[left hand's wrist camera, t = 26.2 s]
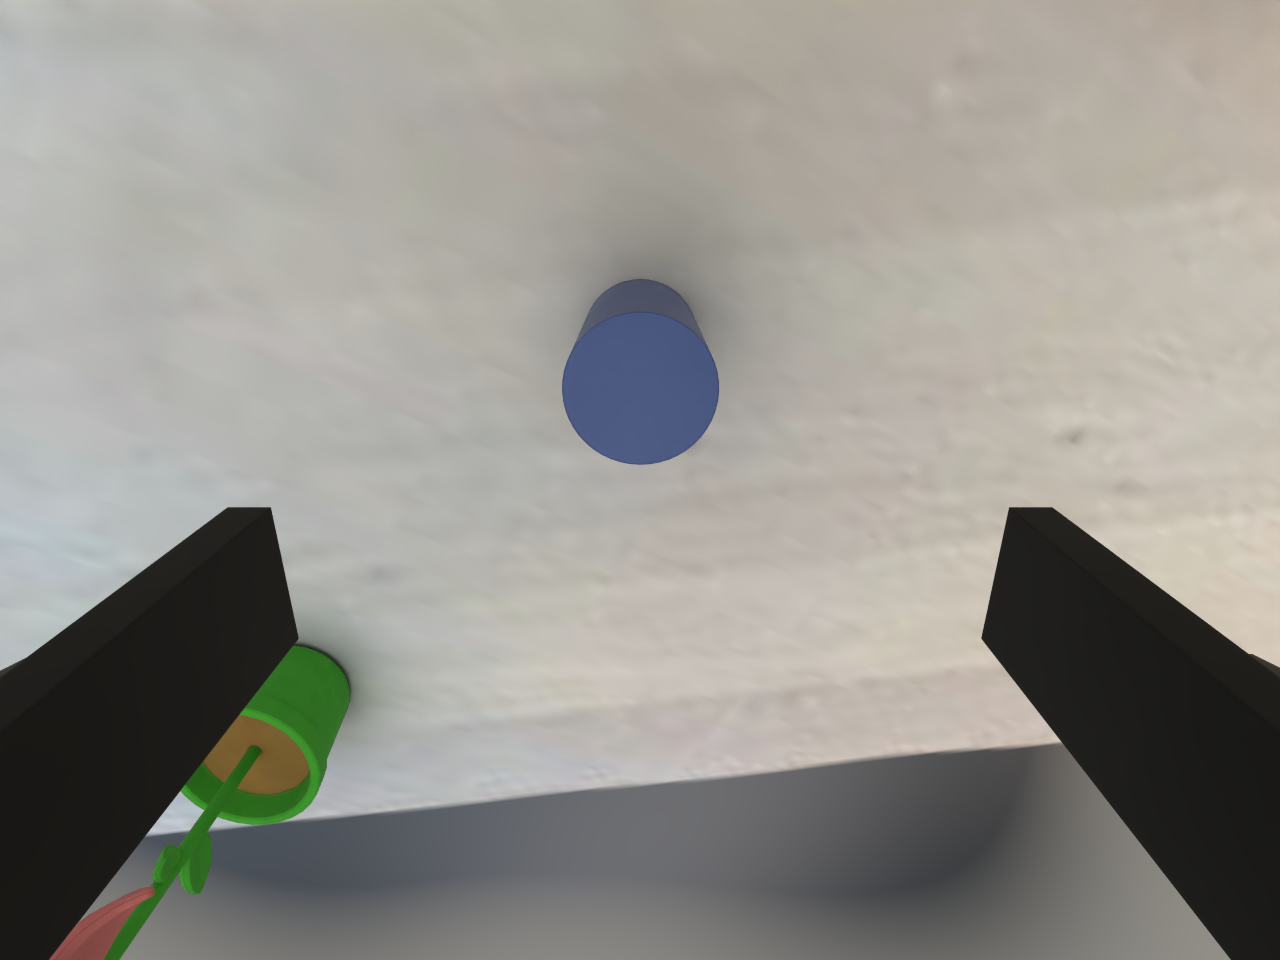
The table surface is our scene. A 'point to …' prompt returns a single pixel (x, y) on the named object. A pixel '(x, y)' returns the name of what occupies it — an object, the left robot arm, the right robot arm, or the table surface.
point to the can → (640, 375)
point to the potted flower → (236, 789)
